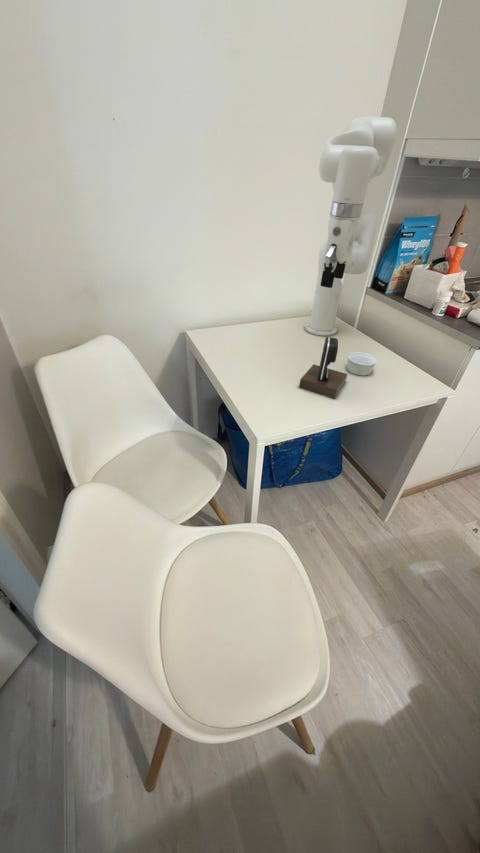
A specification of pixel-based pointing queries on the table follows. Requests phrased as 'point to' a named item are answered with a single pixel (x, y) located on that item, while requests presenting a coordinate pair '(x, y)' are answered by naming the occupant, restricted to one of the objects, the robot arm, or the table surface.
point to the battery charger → (327, 357)
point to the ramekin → (360, 363)
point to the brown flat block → (323, 382)
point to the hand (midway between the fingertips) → (331, 282)
